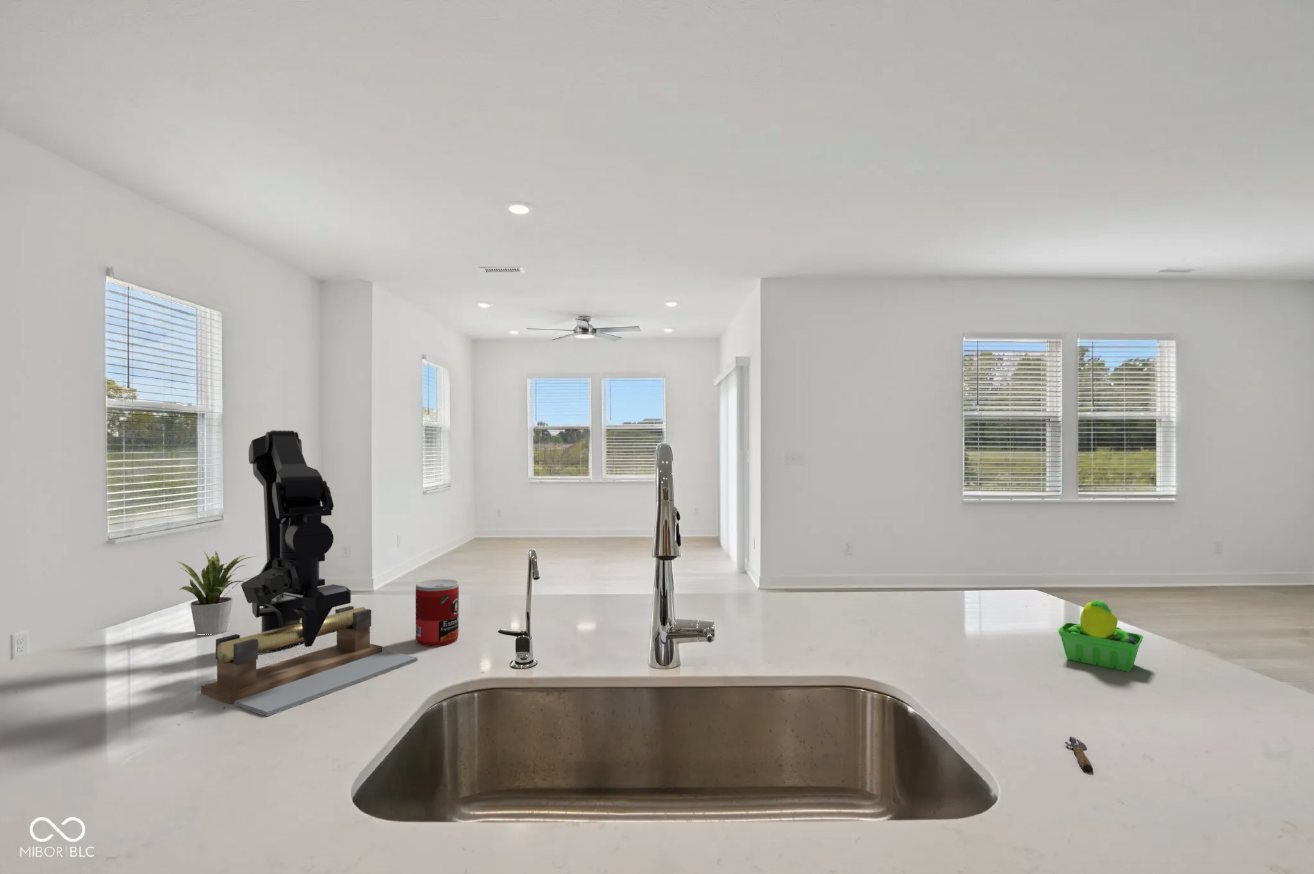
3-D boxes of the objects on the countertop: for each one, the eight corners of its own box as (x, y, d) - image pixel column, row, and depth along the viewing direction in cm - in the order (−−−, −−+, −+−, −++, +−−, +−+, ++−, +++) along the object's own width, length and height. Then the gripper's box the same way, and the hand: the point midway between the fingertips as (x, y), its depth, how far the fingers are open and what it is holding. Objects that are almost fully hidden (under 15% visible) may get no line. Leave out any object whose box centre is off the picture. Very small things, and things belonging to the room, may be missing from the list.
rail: (228, 664, 97) (228, 644, 97) (217, 661, 98) (217, 641, 98) (368, 624, 118) (368, 608, 118) (357, 622, 119) (357, 606, 119)
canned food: (446, 648, 120) (446, 588, 120) (406, 645, 122) (407, 586, 122) (466, 636, 128) (466, 579, 128) (429, 633, 129) (429, 578, 129)
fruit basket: (1144, 664, 111) (1143, 598, 111) (1136, 678, 105) (1136, 607, 105) (1066, 649, 119) (1066, 587, 119) (1055, 661, 112) (1054, 596, 112)
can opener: (1093, 776, 74) (1093, 765, 74) (1069, 771, 76) (1069, 761, 76) (1085, 743, 82) (1084, 734, 82) (1063, 739, 84) (1063, 730, 84)
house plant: (272, 629, 132) (272, 549, 133) (195, 647, 121) (195, 559, 121) (237, 619, 140) (237, 543, 140) (161, 635, 128) (162, 552, 128)
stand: (230, 703, 95) (230, 648, 95) (200, 693, 98) (201, 640, 98) (382, 652, 117) (382, 608, 117) (353, 646, 121) (353, 603, 121)
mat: (234, 705, 94) (234, 701, 94) (386, 653, 117) (386, 650, 117) (267, 716, 90) (267, 712, 90) (417, 660, 113) (417, 657, 113)
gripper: (216, 552, 105) (216, 649, 105) (286, 563, 97) (286, 668, 96) (284, 543, 115) (283, 631, 115) (353, 551, 106) (353, 647, 106)
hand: (299, 644), depth 108 cm, fingers open, 4 cm apart
